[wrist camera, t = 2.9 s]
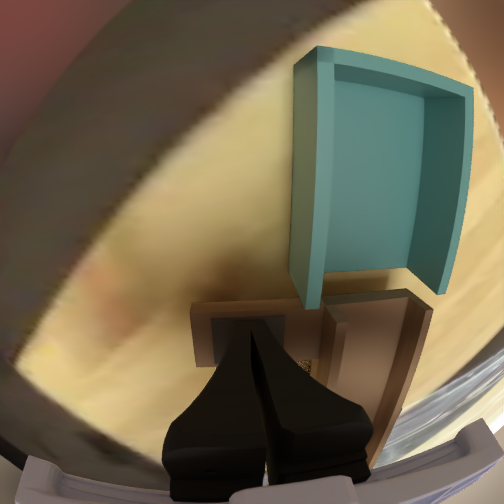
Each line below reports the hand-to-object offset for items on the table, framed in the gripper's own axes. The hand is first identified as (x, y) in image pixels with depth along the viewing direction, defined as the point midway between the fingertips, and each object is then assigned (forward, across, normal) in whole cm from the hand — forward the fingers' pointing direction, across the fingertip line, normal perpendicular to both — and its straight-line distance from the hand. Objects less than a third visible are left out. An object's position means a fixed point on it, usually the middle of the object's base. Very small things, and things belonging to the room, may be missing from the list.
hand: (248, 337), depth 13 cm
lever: (0, -3, +8) cm, 9 cm away
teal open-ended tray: (+3, -6, -7) cm, 9 cm away
